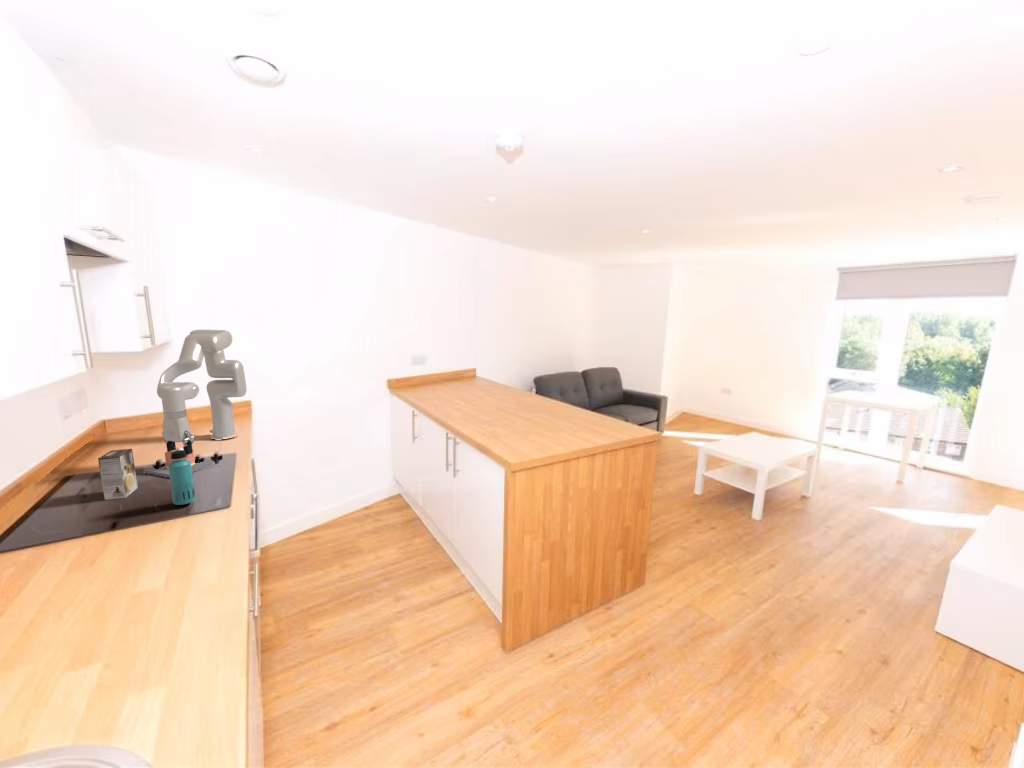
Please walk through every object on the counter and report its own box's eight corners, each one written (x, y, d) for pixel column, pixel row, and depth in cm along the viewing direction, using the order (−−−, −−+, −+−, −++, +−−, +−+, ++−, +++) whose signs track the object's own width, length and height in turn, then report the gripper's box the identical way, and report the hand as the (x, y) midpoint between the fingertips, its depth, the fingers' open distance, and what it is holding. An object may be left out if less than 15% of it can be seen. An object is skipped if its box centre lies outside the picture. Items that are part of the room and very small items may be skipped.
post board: (143, 473, 170) (140, 451, 169) (187, 458, 188) (185, 439, 186) (174, 478, 166) (172, 457, 164) (217, 463, 183) (215, 443, 181)
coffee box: (117, 490, 155) (111, 449, 152) (138, 487, 157) (132, 448, 154) (103, 500, 146) (97, 458, 144) (126, 497, 149) (120, 456, 146)
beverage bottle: (183, 510, 141) (176, 455, 138) (167, 507, 142) (160, 453, 139) (200, 501, 147) (195, 449, 144) (185, 499, 149) (179, 447, 145)
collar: (166, 466, 174) (164, 452, 173) (183, 460, 181) (181, 447, 180) (178, 468, 172) (176, 454, 171) (195, 462, 179) (193, 449, 178)
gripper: (150, 414, 171) (156, 453, 175) (181, 418, 167) (186, 458, 170) (169, 410, 178) (174, 447, 182) (199, 414, 174) (203, 452, 177)
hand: (180, 452), depth 176 cm, fingers open, 9 cm apart
